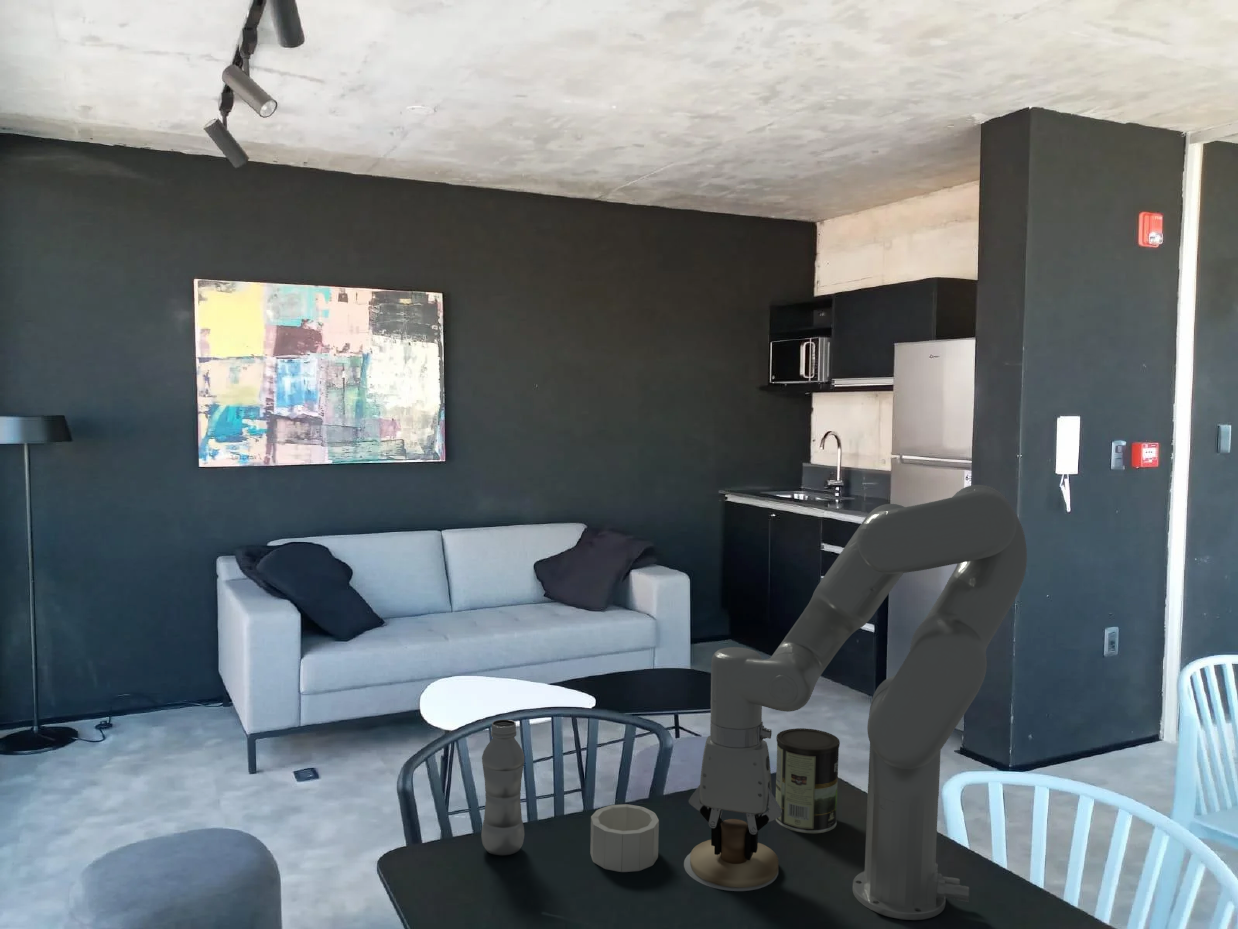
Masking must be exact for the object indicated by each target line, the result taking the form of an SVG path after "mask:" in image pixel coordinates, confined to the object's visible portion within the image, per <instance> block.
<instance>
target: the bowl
mask: <svg viewBox="0 0 1238 929" xmlns="http://www.w3.org/2000/svg"><path fill="white" fill-rule="evenodd" d="M659 826H660V820H659V818H658V816H657V814H656V813H655V812H654V811H652V810H650V809H648V808H646V807H643V806H639V805H633V804H627V803H626V804H625V803H624V804H611V805H607V806H604V807H601V808H599V809H596V810H595V811H594V812H593V814H592V815H591V816H590V849H589V850H590V851H589V852H590V853H589V854H590V856H591V860H592V863H593V864H596V865H598V866H599V867H600V868H603V869H605V870H609V871H614V872H620V873H628V872H630V873H631V872H640V871H642V870H645V869H648V868H650V867H652V866H653V865H654V864H655V863H656V861H657V860H658V859H659V835H660V834H659V830H660V827H659Z"/></svg>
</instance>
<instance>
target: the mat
mask: <svg viewBox="0 0 1238 929" xmlns="http://www.w3.org/2000/svg"><path fill="white" fill-rule="evenodd" d="M690 855H691V852H690V853H688V854H687V855H686V857H685V858H684V861H683V868H684V870H685V872H686V873H687V874H688V875H689V877H691V878H692V879H693V880H695V881H696V882H698V883H700V884H702V885H703V886H707V887H710V888H713V889H718V890H721V891H723V890H724V891H730V892H731V891H732V892H733V891H734V892H746V891H753V890H759V889H761V888H764V887H767V886H768V885H771V884H772V883H773V882H774V881H775V880H776V879H777V877H778V876H779V872H778V873H777V875H776V876H775V877H774V878H773V879H772V880H770V881H769V882H767V883H764V884H761V885H758V886H753V887H727V886H721V885H717V884H714V883H711V882H708V881H706V880H704V879H702V878H700V877H699V876H698V875H696V874H695V873H694V872H693V870H692V868H691V865H690Z"/></svg>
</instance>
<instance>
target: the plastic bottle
mask: <svg viewBox="0 0 1238 929" xmlns="http://www.w3.org/2000/svg"><path fill="white" fill-rule="evenodd" d="M490 736H491V737H492V739H491V740H489V742H488V744H487V745H486V747H485V748H484V750H483V752H482V756H481V764H482V771H483V778H484V791H485V792H484V793H485V795H484V796H485V805H484V813H483V814H484V815H483V822H482V827H481V833H480V834H481V835H480V836H481V842H482V846H483V847H484V849H485V850H486V851H487V853H489V854H491V855H493V856H494V855H495V856H510V855H513V854H516V853H517V852H519V851H520V849H521V847H522V846H523V844H524V839H525V827H524V823H523V822H524V821H523V817H522V816H523V815H522V803H521V795H522V794H521V791H522V780H523V779H522V778H523V772H524V765H525V754H524V750H523V749H522V747H521V745H520V744H519V742H518V740H516V738H515V737H516V736H517V723H516V721H515V720H512V719H505V718H504V719H496V720H494V721H492V723H491V731H490Z"/></svg>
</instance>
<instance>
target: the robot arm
mask: <svg viewBox="0 0 1238 929" xmlns="http://www.w3.org/2000/svg"><path fill="white" fill-rule="evenodd" d="M1026 541H1027V540H1026V537H1025V532H1024V528H1023V526H1022V524H1021V521H1020V520H1019V517H1018V516H1017V513H1016V511H1015V510H1014V508H1013V506H1012V505H1011V503H1010V502H1009V500H1008V499H1007V498H1006V497H1005V495H1004V494H1003V493H1002V492H1000V491H999V490H997V489H995V487H992V486H989V485H985V484H973V485H967V486H965V487H963V488H961V489H960V490H958V491H956V493H955V494H953V496H952V497H948V498H943V499H939V500H935V501H930V502H924V503H920V504H916V505H915V504H914V505H911V506H903V505H901V504H897V503H885V504H881V505H879V506H877V507H875V508H874V509H872V510H871V511H870V512H869V513H868V514H867V515H866V517H864V519H863V521H862V522H861V523H860V525H859V527H858V528H857V529H856V530H855V532H854V533H853V535H852V536H851V538H849V540H848V542H847V543H846V544H845V546H844V548H843V549H842V551H841V552H840V553H839V555H838V556H837V558H836V559H835V560H834V562H833V563H832V565H831V566H830V568H828V570H827V571H826V573H825V575H824V576H823V577H822V578H821V580H820V581H819V583H818V584H817V586H816V587H815V590H814V591H813V594H812V597H811V598H810V600H809V603H808V604H807V605H806V607H805V608H804V610H803V612H802V613H801V614H800V616H799V617H798V619H797V620H796V621H795V623H794V624H793V626H792V627H791V628H790V630H789V631H788V633H787V634H786V635H785V637H784V639H783V640H782V641H781V643H780V644H779V645H778V647H777V648H776V649H775V651H774V652H773V654H772V655H771V657H770V658H766V659H762V656H761V654H760V653H759V652H758V651H756V650H754V649H750V648H747V647H741V646H740V647H737V646H734V647H733V646H731V647H724V648H720V649H718V650H717V651H715V652H714V653H713V654H712V656H711V660H710V662H711V664H710V666H711V667H710V721H709V722H710V730H709V731H710V733H709V735H708V736H707V737H706V740H705V744H704V749H703V754H702V763H701V770H700V781H699V785H698V787H696V789H695V791H694V792H693V793H692V794H691V796H690V797H689V798H688V804H689V805H691V806H692V807H693V808H694V809H695V810H697V811H699V813H700V814H701V815H702V817H703V818H704V819H705V820H706V821H707V823H708V826H709V828H711V832H710V833H711V838H710V840H711V846H715V847H714V854H715V855H718V854H720V853H721V823H722V822H723V821H724V820H723V819H722V818H721V817H722V814H723V811H729V812H734V813H743V814H745V816H746V820H747V821H746V823H747V824H748V831H747V832H746V835H745V859H746V860H750V859H751V857H752V855H753V852H754V853H756V852H757V848H758V843H759V841H758V840H759V838H758V837H759V836H758V835H759V831H760V830H761V829H763V828H764V827H765V826H766V825H768V823H770V822H773V821H776V820H775V819H777V818H779V817H780V816H781V814H782V809H781V808H780V806H779V804H778V803H777V801H776V797H775V796H774V794H773V793H772V775H771V774H772V773H771V761H770V753H769V747H768V743H767V741H766V739H771V738H772V732H773V731H772V729H771V728H767V727H765V725H764V722H763V718H762V717H763V716H762V715H763V707H764V708H768V709H771V710H775V711H779V712H795V711H798V710H800V709H802V708H804V707H805V706H806V705H807V704H808V702H809V700H810V698H811V697H812V694H813V692H814V689H815V686H816V684H817V683H818V680H819V678H820V677H821V676H822V674H823V673H824V671H825V670H826V668H827V667H828V665H829V664H830V663H831V661H833V658H834V657H835V656H836V654H837V653H838V652H839V651H840V649H841V648H842V646H843V645H844V644H845V642H846V641H847V640H848V639H849V638H850V637H851V636H852V634H854V633H855V632H856V631H857V630H860V629H861V628H862V627H864V626H865V625H866V624H867V623H868V622H869V621H870V620H871V619H872V618H873V616H874V615H875V613H876V612H877V610H878V609H879V608H880V607H881V605H882V604H883V602H884V600H885V599H886V598H887V597H888V595H889V594H890V592H891V591H892V589H893V588H894V587H895V585H896V584H897V583H898V581H899V580H900V579H901V578H902V576H903V574H905V573H906V574H907V573H914V572H920V571H927V570H931V569H936V568H941V567H947V566H952V565H956V566H955V568H954V570H953V571H952V573H951V575H950V577H949V578H948V580H947V582H946V584H945V586H944V588H943V590H942V591H941V593H940V594H939V596H938V598H937V599H936V600H935V602H934V604H933V605H932V607H931V609H930V610H929V612H928V613H927V615H926V616H925V617H924V619H923V620H922V622H921V623H920V624H919V625H918V626H917V628H916V630H915V631H914V633H913V635H912V638H911V641H910V648H909V651H908V654H907V655H906V657H905V659H904V661H903V663H901V666H900V668H899V669H898V671H897V672H896V674H895V675H892V676H889V677H887V678H886V679H884V680H883V681H882V682H881V683H880V684H879V685H878V686H877V688H876V690H874V693H873V696H872V699H871V702H870V707H869V713H868V720H867V736H868V740H869V759H868V777H867V780H868V781H867V782H868V783H867V796H866V797H867V800H866V801H867V803H866V823H865V824H866V825H865V826H866V827H865V828H866V829H865V853H864V870H863V871H861V872H860V873H858V874H857V875H856V876H855V877H854V879H853V880H852V893H853V896H854V897H855V899H856V900H857V901H858V902H859V903H860V904H861V905H863V906H864V907H865V908H868V909H869V910H870V911H873V912H875V913H877V914H879V915H882V916H885V917H888V918H894V919H896V920H897V919H899V920H904V921H905V920H906V921H922V920H927V919H932V918H934V917H936V916H938V915H939V914H941V913H942V912H944V910H945V907H946V898H949V899H950V898H951V899H954V900H957V901H962V902H966V903H967V902H968V903H969V902H970V901H969V900H970V899H969V898H970V886H966V885H961V884H960V878H957V877H951V876H950V877H948V876H943V873H938V869H939V867H938V866H939V864H938V863H937V862H936V859H937V857H936V856H937V838H938V815H939V814H938V813H939V796H940V794H939V793H940V777H941V774H940V773H941V772H940V771H941V750H942V749H943V747H944V746H945V744H946V743H947V742H948V740H949V739H950V737H951V736H952V734H953V733H954V730H955V729H956V728H957V726H958V725H959V723H960V722H961V720H962V718H963V717H964V716H965V714H966V712H967V711H968V709H969V707H970V706H971V704H972V703H973V701H974V700H975V698H976V697H977V695H978V693H979V691H980V689H981V687H982V685H983V683H984V680H985V677H986V673H987V664H988V663H987V662H988V661H987V654H986V652H987V649H988V646H989V645H990V643H991V641H992V639H993V638H994V636H995V635H996V632H998V629H999V628H1000V627H1001V624H1002V623H1003V621H1004V619H1005V618H1006V615H1007V614H1008V613H1009V611H1010V608H1011V607H1012V605H1013V604H1014V602H1015V600H1016V597H1017V596H1018V594H1019V592H1020V589H1021V587H1022V584H1023V581H1024V579H1025V575H1026V569H1027V560H1028V553H1027V543H1026ZM767 808H768V810H767ZM766 810H767V811H766Z"/></svg>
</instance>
